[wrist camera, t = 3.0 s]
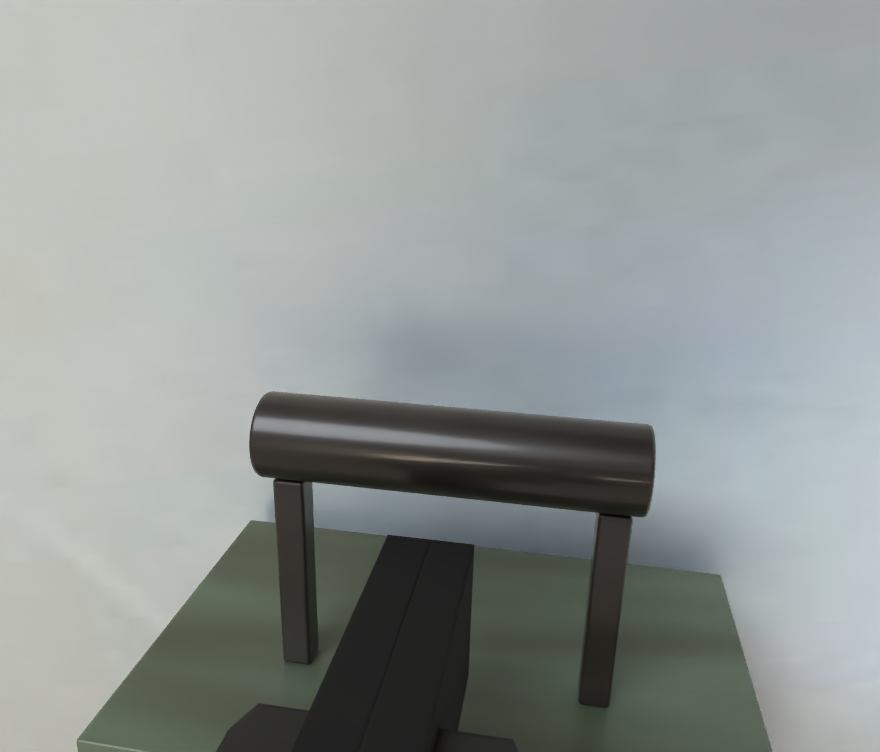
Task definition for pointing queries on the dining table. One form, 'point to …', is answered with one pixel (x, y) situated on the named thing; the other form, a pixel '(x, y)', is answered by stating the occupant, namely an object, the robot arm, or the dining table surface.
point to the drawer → (493, 592)
